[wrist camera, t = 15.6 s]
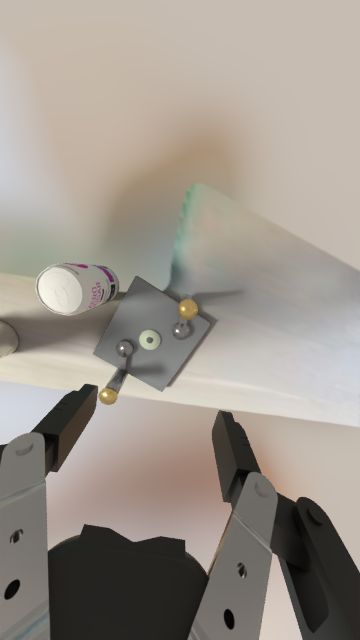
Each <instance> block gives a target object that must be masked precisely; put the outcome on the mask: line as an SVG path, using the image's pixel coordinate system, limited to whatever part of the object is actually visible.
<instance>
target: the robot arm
mask: <svg viewBox="0 0 360 640" xmlns="http://www.w3.org/2000/svg"><path fill="white" fill-rule="evenodd" d="M17 347H18V336H17V334H16V332H15V331H14V329H13V328H12V327H11V326H9V325H8V324H6V323H4V322H2V321H0V358H2V357H4V356H7V355H8V354H10V353H12V352H14V351H15V350H16V349H17ZM97 393H98V386H96V385H90V384H84V385H83V387H82V388H81V389H80V390H79V391H72V392H70V393H68V394H67V395H65V396H64V397H63V398H62V399H61V400H60V401H59V403H58V404H56V406H55V407H54V408H53V409H52V410H51V411H50V412H49V413H48V414H47V415H46V416H45V417H44V418H43V419H42V420H41V421H40V423H39V424H38V425H37V426H36V427H35V428H34V429H33V430H32V431H31V432H30V433H26V434H23V435H21V436H18V437H17V438H15V439H14V440H12V441H11V442H10V443H9V444H5V445H0V640H259V635H260V629H261V623H262V616H263V610H264V604H265V597H266V592H267V585H268V579H269V572H270V566H271V560H272V553H274V554H276V555H277V556H278V559H279V562H280V566H281V569H282V572H283V575H284V579H285V582H286V585H287V589H288V592H289V595H290V599H291V602H292V605H293V608H294V612H295V615H296V618H297V622H298V625H299V629H300V632H301V635H302V639H303V640H360V573H359V570H358V569H357V567H356V565H355V563H354V562H353V560H352V558H351V556H350V554H349V553H348V551H347V549H346V547H345V546H344V544H343V542H342V540H341V538H340V536H339V535H338V533H337V531H336V529H335V528H334V526H333V524H332V522H331V520H330V519H329V517H328V516H327V514H326V513H325V512H324V511H323V510H322V509H321V507H320V506H319V505H317V504H316V503H315V502H314V501H312V500H311V499H309V498H306V497H300V498H299V499H298V500H297V502H294V501H292V500H290V499H288V498H286V497H285V496H283V495H281V494H279V493H277V492H276V490H275V488H274V486H273V485H272V483H271V482H270V481H269V480H268V479H267V478H266V477H265V476H263V475H262V474H261V471H260V468H259V466H258V463H257V461H256V458H255V456H254V453H253V451H252V448H251V447H250V443H249V441H248V438H247V436H246V433H245V431H244V429H243V428H242V426H241V425H240V424H239V423H237V422H235V421H234V418H233V415H232V413H231V412H226V411H221V410H219V412H218V414H217V417H216V420H215V423H214V426H213V429H212V441H213V447H214V452H215V458H216V464H217V468H218V474H219V480H220V485H221V491H222V497H223V502H228V503H231V506H232V512H231V514H230V517H229V519H228V522H227V524H226V527H225V530H224V532H223V535H222V537H221V540H220V543H219V545H218V548H217V550H216V553H215V555H214V558H213V560H212V562H211V565H210V567H209V570H208V572H207V573H206V572H205V570H204V569H203V567H202V566H201V565H200V563H198V561H197V560H196V559H195V558H194V557H193V556H191V555H190V554H189V553H187V552H186V551H185V540H181V539H175V538H168V537H162V536H160V537H156V538H152V539H147V540H143V541H138V542H132V541H130V540H129V539H127V538H125V537H123V536H122V535H120V534H118V533H117V532H115V531H113V530H112V529H110V528H105V527H99V526H92V525H86V524H84V527H83V529H82V532H81V534H80V535H77V536H74V537H71V538H69V539H66V540H64V541H62V542H60V543H59V544H57V545H56V546H54V547H53V548H52V549H50V550H49V551H48V549H47V510H46V509H47V507H46V481H45V478H46V476H47V475H48V473H49V472H50V471H52V472H58V470H59V469H60V467H61V466H62V464H63V462H64V461H65V459H66V458H67V456H68V454H69V453H70V451H71V449H72V448H73V446H74V445H75V443H76V441H77V440H78V438H79V437H80V435H81V433H82V432H83V430H84V429H85V427H86V425H87V424H88V422H89V420H90V419H91V417H92V415H93V413H94V411H95V408H96V401H97Z"/></svg>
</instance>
